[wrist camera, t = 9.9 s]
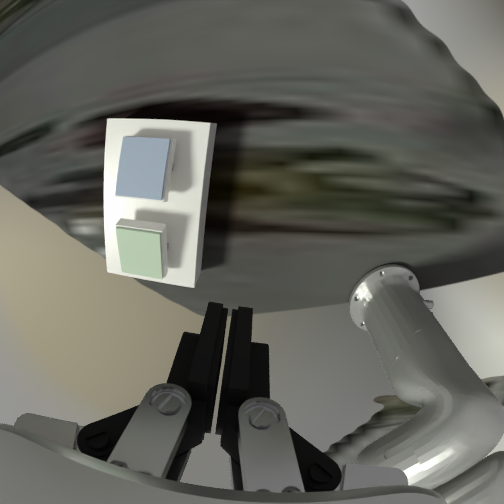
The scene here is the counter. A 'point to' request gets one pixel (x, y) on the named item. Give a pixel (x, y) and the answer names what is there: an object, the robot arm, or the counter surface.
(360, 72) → the counter surface
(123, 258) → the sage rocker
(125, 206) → the switch box
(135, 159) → the slate rocker
